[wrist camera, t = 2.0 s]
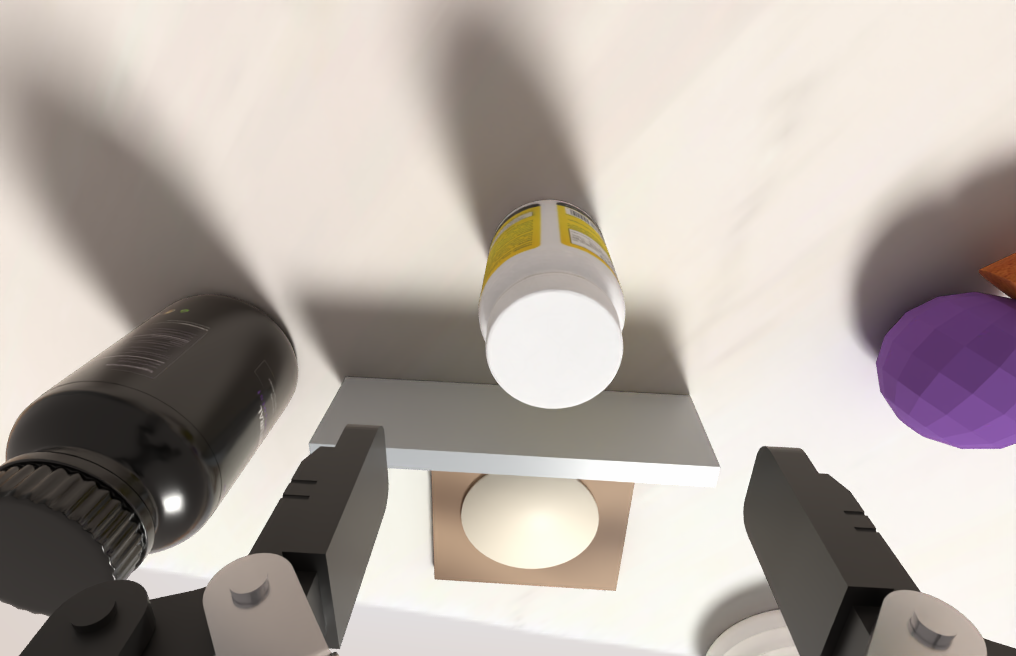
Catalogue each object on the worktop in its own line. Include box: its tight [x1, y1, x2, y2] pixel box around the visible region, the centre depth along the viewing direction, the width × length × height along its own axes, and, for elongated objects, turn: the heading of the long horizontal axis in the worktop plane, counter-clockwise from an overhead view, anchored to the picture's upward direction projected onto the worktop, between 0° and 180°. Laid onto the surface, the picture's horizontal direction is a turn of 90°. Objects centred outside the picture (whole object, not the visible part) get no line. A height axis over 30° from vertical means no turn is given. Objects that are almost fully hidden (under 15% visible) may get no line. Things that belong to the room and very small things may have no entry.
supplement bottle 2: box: [479, 200, 625, 409], centre depth 20 cm, size 5×5×8 cm
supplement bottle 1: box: [0, 294, 298, 616], centre depth 22 cm, size 7×7×12 cm
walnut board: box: [431, 471, 635, 591], centre depth 30 cm, size 10×10×1 cm
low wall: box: [309, 377, 720, 487], centre depth 25 cm, size 1×16×5 cm, turn 88°
